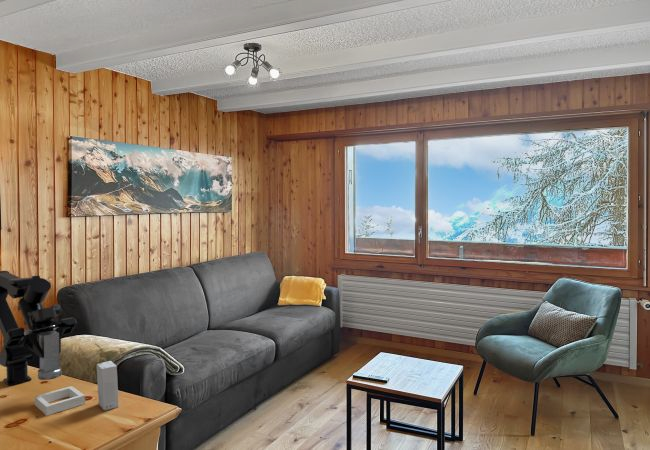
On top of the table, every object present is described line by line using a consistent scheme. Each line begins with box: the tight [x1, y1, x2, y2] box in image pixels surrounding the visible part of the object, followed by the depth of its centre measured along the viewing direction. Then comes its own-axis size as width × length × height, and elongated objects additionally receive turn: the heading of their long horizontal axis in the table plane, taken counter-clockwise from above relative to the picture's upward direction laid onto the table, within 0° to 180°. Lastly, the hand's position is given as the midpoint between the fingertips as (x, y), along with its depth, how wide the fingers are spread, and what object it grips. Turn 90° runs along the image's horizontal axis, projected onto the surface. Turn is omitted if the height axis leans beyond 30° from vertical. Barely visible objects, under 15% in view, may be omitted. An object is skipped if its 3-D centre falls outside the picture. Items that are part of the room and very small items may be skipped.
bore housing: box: [34, 385, 86, 417], centre depth 133 cm, size 10×10×2 cm
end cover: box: [37, 330, 62, 381], centre depth 136 cm, size 6×6×13 cm
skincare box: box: [96, 360, 120, 411], centre depth 132 cm, size 6×4×12 cm
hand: (51, 355), depth 135 cm, fingers closed on end cover, 4 cm apart
